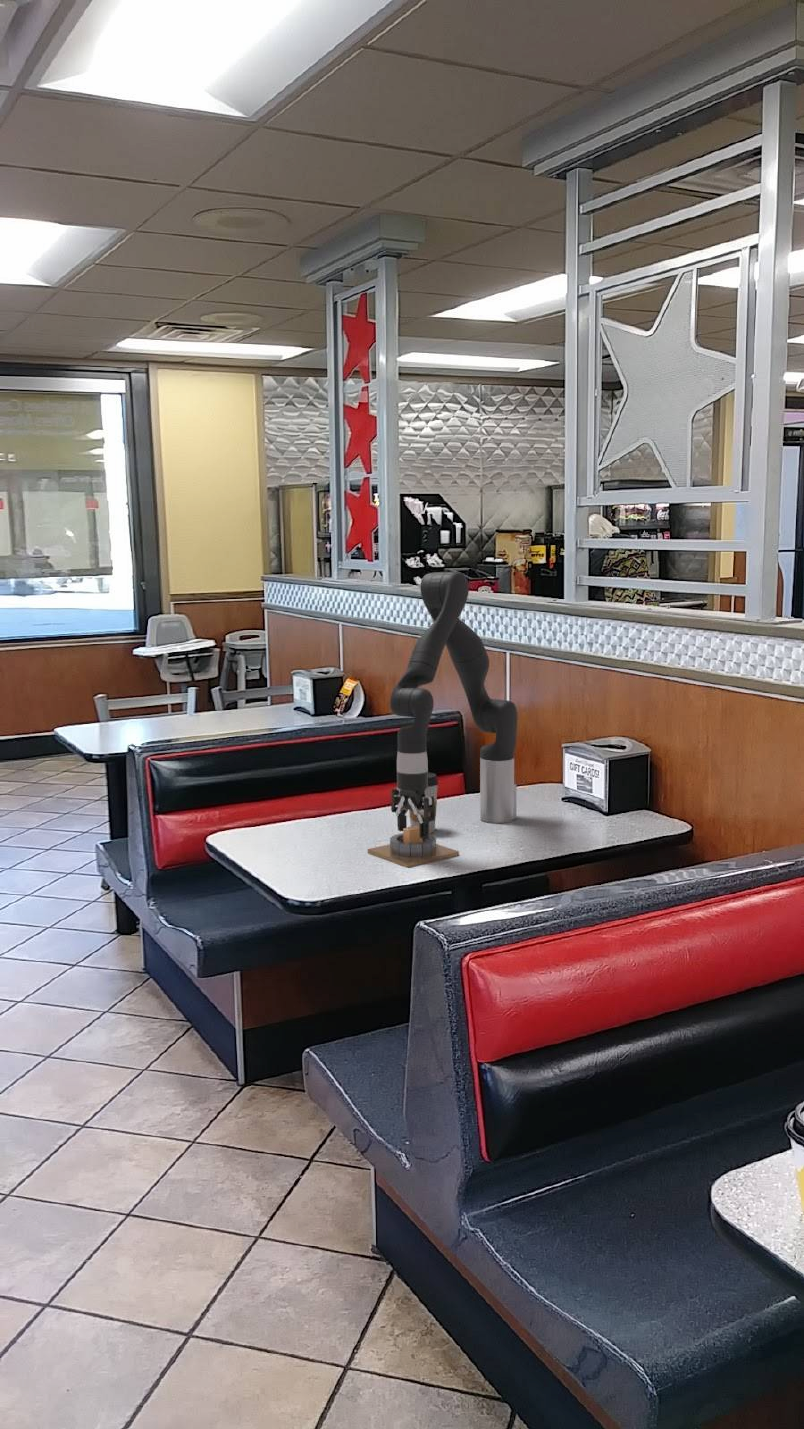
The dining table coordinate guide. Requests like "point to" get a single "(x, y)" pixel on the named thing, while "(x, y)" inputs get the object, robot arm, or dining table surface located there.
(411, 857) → the board with grey ring
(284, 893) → the dining table surface
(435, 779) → the coffee cup
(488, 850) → the dining table surface
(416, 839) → the cap
